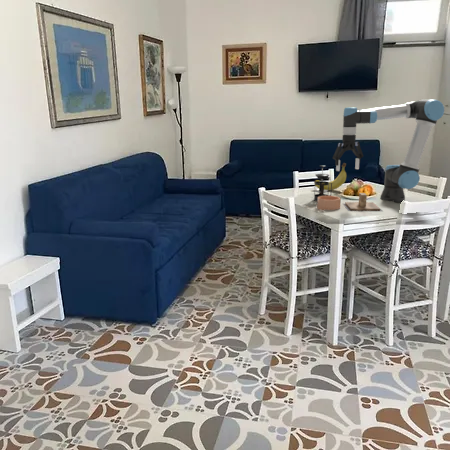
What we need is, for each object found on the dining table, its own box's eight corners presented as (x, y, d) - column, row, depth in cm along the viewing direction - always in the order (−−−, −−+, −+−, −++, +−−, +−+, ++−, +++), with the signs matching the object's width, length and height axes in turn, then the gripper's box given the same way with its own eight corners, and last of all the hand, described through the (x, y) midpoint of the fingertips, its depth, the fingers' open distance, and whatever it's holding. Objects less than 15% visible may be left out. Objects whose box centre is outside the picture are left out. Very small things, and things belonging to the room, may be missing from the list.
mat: (374, 204, 279) (374, 203, 279) (383, 212, 260) (383, 211, 259) (342, 204, 280) (342, 203, 280) (348, 212, 261) (348, 211, 261)
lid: (372, 204, 277) (374, 191, 275) (380, 210, 261) (381, 197, 259) (345, 204, 279) (346, 191, 276) (350, 210, 262) (351, 196, 260)
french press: (313, 201, 290) (315, 166, 284) (312, 198, 299) (313, 164, 293) (331, 201, 289) (333, 166, 282) (329, 198, 298) (331, 164, 291)
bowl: (337, 205, 277) (338, 195, 276) (341, 210, 265) (341, 200, 263) (316, 205, 278) (316, 195, 277) (319, 210, 266) (319, 200, 264)
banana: (313, 190, 325) (314, 163, 320) (313, 189, 330) (314, 162, 325) (345, 191, 320) (347, 163, 315) (345, 189, 326) (347, 162, 320)
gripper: (362, 132, 271) (360, 167, 276) (327, 134, 263) (326, 170, 268) (370, 133, 264) (368, 169, 270) (334, 135, 256) (333, 172, 262)
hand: (347, 170), depth 269 cm, fingers open, 13 cm apart
